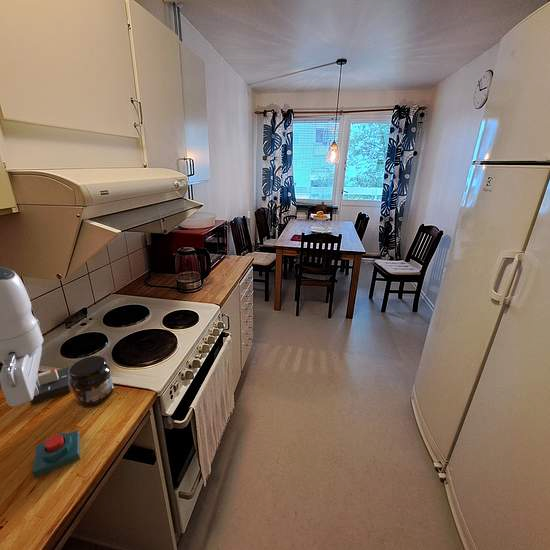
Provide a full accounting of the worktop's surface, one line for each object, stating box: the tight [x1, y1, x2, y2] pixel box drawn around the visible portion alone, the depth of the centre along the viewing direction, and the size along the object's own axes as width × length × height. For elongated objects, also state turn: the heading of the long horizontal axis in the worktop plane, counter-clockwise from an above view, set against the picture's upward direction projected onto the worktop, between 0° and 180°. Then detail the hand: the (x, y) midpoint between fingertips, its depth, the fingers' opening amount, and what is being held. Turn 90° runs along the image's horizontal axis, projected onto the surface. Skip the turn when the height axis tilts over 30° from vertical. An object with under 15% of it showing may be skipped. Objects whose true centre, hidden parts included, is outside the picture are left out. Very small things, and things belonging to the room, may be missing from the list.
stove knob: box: [38, 368, 59, 385], centre depth 92 cm, size 5×2×4 cm, turn 122°
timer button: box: [45, 433, 64, 452], centre depth 71 cm, size 4×4×2 cm
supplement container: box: [69, 355, 115, 408], centre depth 89 cm, size 10×10×12 cm
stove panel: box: [29, 366, 72, 406], centre depth 93 cm, size 10×10×3 cm
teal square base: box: [32, 429, 81, 479], centre depth 72 cm, size 9×8×4 cm
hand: (34, 391), depth 65 cm, fingers closed
